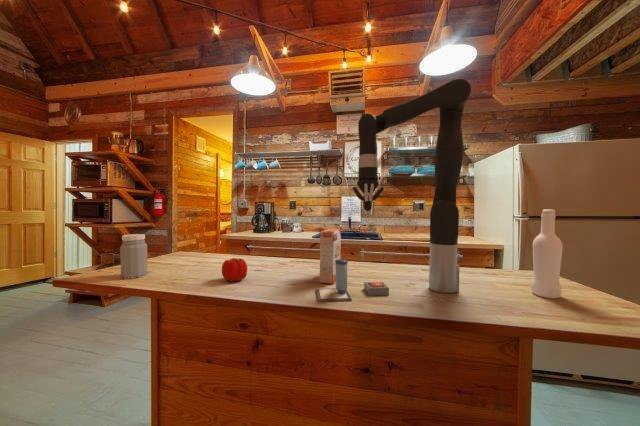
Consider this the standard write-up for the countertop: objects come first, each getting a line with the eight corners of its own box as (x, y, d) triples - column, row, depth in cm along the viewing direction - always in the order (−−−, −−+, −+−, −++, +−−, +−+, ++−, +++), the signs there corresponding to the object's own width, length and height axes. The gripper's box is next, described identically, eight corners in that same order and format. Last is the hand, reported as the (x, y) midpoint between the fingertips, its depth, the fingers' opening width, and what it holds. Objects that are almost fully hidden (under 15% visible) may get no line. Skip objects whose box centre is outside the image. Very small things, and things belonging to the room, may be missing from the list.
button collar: (382, 288, 97) (382, 281, 97) (388, 295, 90) (388, 288, 90) (364, 288, 97) (364, 282, 97) (369, 295, 90) (369, 288, 90)
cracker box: (333, 284, 102) (334, 231, 101) (319, 283, 104) (319, 231, 103) (341, 275, 115) (341, 228, 114) (328, 274, 117) (328, 227, 116)
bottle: (532, 289, 97) (534, 209, 95) (561, 295, 91) (565, 209, 90) (529, 294, 91) (531, 209, 90) (560, 301, 85) (563, 209, 84)
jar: (114, 278, 109) (113, 236, 109) (134, 272, 119) (133, 233, 118) (134, 279, 108) (133, 236, 107) (153, 273, 117) (152, 234, 117)
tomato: (228, 276, 113) (228, 256, 113) (252, 277, 112) (252, 257, 112) (215, 283, 103) (215, 261, 103) (241, 284, 102) (241, 262, 101)
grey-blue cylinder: (346, 290, 93) (346, 259, 92) (348, 294, 89) (348, 261, 88) (334, 290, 93) (334, 259, 92) (336, 295, 88) (336, 262, 88)
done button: (379, 288, 96) (379, 282, 96) (383, 292, 92) (383, 285, 92) (369, 288, 95) (369, 282, 95) (372, 292, 91) (372, 285, 91)
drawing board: (345, 289, 96) (345, 287, 96) (351, 300, 85) (351, 298, 85) (316, 290, 95) (316, 288, 95) (318, 301, 84) (318, 299, 84)
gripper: (381, 168, 107) (380, 210, 108) (349, 168, 106) (349, 210, 107) (387, 166, 99) (386, 211, 100) (353, 165, 98) (353, 211, 99)
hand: (367, 210), depth 103 cm, fingers closed
